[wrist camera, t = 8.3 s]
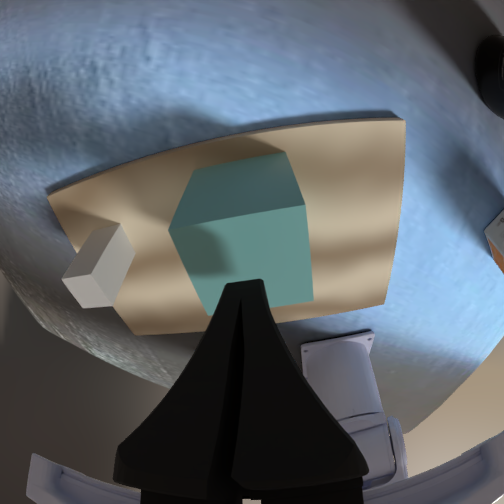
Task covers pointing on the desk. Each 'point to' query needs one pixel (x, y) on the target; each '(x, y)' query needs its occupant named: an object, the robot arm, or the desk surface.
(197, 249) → the teal green block
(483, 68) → the supplement bottle
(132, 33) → the desk surface
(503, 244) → the skincare box
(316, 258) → the board
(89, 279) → the grey post
